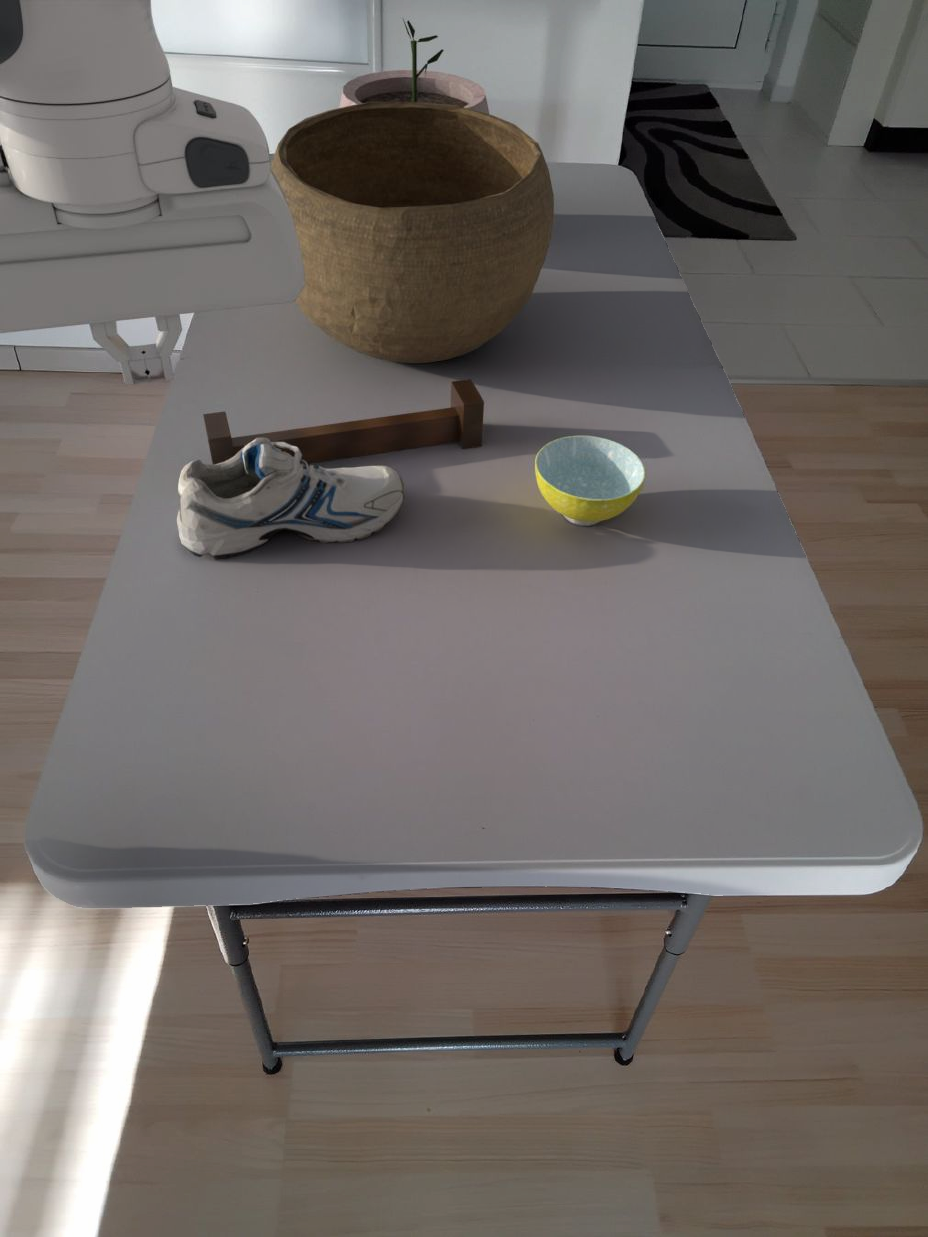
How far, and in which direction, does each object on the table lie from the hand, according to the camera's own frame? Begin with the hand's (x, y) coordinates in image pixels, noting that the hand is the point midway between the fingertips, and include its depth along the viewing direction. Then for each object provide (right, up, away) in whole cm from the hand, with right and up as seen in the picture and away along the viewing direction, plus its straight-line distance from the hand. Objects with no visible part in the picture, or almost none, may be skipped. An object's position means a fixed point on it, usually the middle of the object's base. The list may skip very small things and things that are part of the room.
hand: (149, 378), depth 57 cm
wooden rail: (+6, +4, +48) cm, 49 cm away
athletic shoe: (+2, -6, +39) cm, 39 cm away
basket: (+12, +24, +68) cm, 73 cm away
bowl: (+32, -4, +42) cm, 53 cm away
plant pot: (+12, +47, +92) cm, 104 cm away
